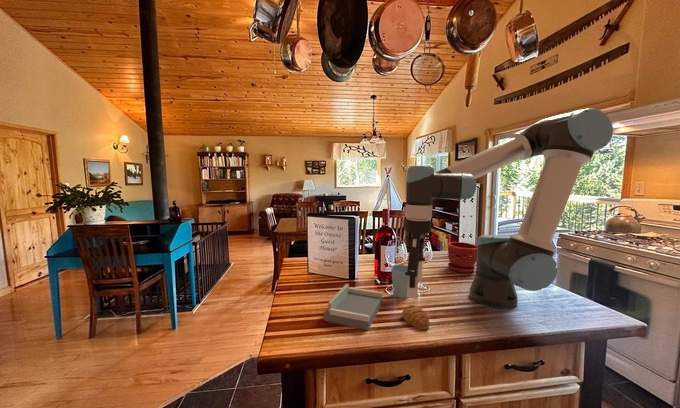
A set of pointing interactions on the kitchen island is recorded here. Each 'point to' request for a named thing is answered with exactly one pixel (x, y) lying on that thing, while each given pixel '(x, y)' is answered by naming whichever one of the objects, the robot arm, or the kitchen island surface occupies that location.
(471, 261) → the plant pot
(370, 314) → the dock
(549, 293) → the kitchen island surface
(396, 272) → the cup
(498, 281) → the robot arm
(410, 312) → the pastry
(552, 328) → the kitchen island surface
